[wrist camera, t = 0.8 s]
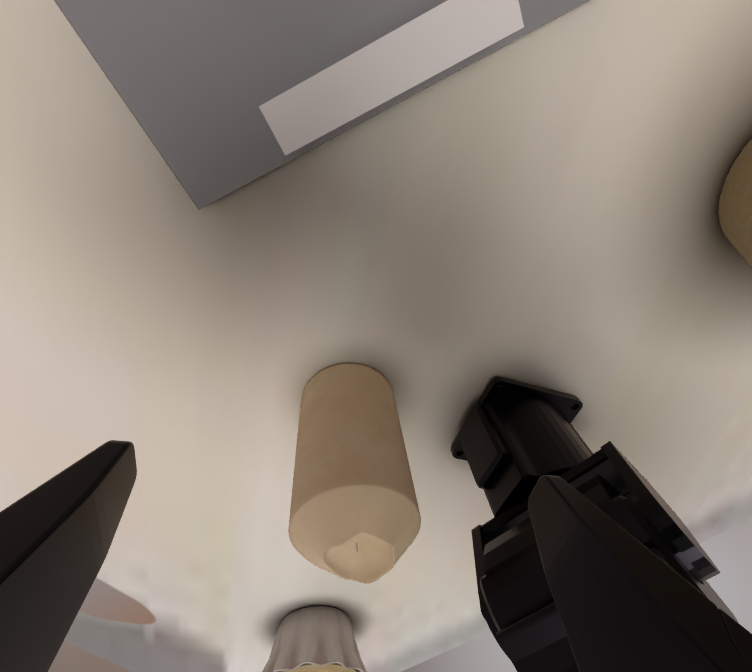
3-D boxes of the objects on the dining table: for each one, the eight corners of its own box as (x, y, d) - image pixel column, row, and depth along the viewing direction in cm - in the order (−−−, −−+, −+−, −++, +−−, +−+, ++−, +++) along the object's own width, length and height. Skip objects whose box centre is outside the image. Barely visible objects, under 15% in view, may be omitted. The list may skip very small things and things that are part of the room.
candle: (281, 398, 24) (253, 567, 15) (353, 344, 22) (369, 496, 14) (342, 447, 26) (348, 617, 18) (411, 402, 25) (454, 561, 16)
